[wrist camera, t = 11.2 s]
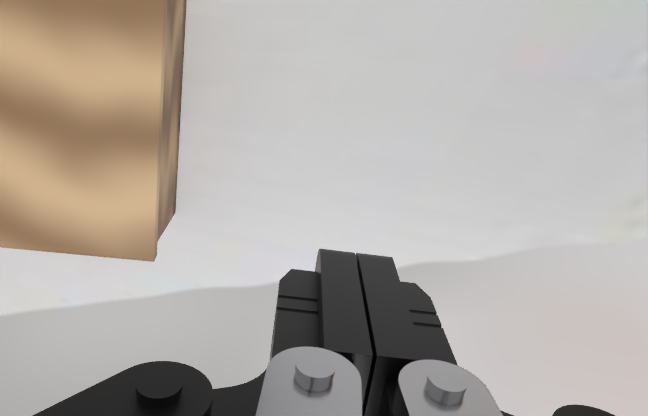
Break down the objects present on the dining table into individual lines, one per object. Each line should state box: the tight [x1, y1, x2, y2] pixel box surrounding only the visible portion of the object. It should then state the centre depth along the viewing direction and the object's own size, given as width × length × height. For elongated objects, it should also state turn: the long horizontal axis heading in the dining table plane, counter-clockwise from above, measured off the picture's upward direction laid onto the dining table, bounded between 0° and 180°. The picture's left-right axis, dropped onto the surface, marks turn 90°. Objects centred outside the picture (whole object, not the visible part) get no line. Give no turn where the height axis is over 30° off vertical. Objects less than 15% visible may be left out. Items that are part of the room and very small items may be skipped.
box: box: [157, 0, 186, 241], centre depth 34 cm, size 16×12×6 cm
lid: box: [0, 0, 167, 262], centre depth 30 cm, size 17×12×1 cm
